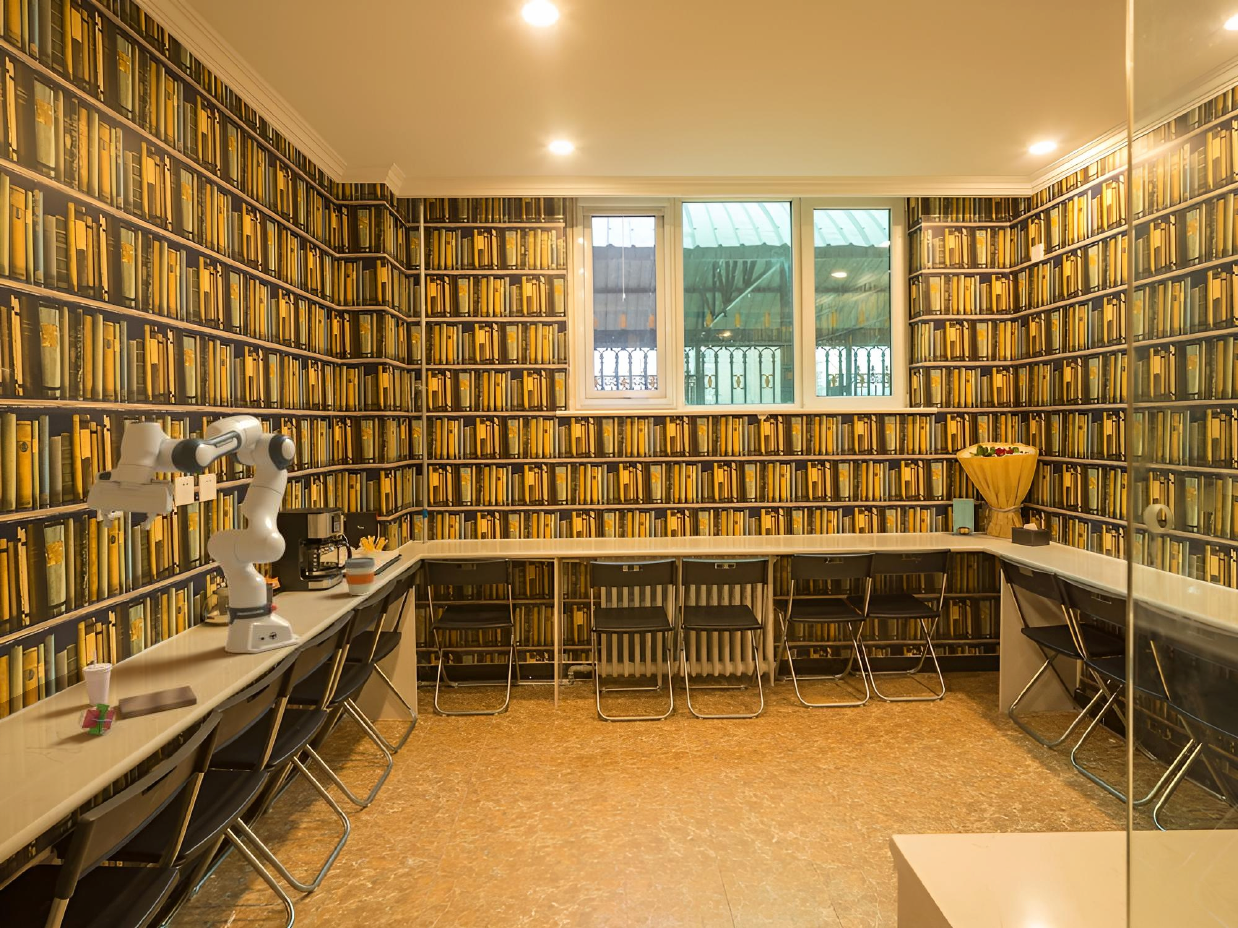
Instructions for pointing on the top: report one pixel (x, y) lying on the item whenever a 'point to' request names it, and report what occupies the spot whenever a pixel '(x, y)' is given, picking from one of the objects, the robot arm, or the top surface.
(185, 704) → the serving board
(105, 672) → the smoothie
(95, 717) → the geometric puzzle
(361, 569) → the reusable coffee cup
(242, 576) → the robot arm
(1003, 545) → the top surface
